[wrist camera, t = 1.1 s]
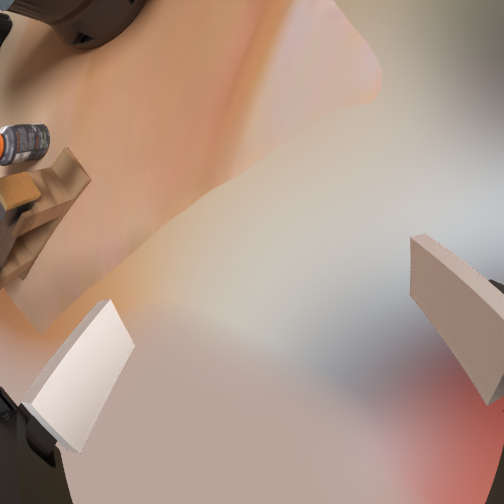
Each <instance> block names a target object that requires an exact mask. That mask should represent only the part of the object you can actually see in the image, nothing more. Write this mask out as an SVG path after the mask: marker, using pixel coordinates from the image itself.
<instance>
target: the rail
mask: <svg viewBox="0 0 504 504" xmlns="http://www.w3.org/2000/svg"><path fill="white" fill-rule="evenodd" d="M40 195H41V193H40V192H39V190H38V188H37V187H36V185H35V184H34V182H33V181H32V179H31V177H30V176H29V174H28V172H27V171H25V172H21V173H17V174H13V175H9V176H6V177H2V178H0V274H1V271H2V269H3V266H4V264H5V262H6V259H7V257H8V255H9V253H10V251H11V248H12V246H13V244H14V242H15V240H16V238H17V237H16V238H14V236H13V234H12V232H13V230H14V228H15V226H16V224H17V222H18V220H19V218H20V216H21V214H22V213H24V212H27V211H29V210H32V208H33V206H34V204H35V203H36V201H37V199H39V197H40Z"/></svg>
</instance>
